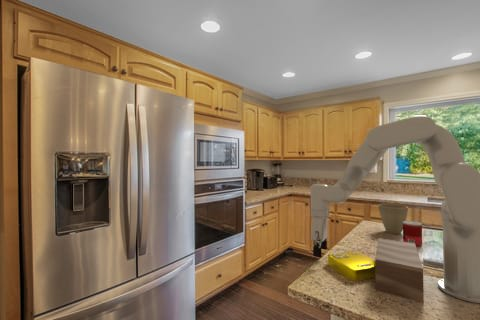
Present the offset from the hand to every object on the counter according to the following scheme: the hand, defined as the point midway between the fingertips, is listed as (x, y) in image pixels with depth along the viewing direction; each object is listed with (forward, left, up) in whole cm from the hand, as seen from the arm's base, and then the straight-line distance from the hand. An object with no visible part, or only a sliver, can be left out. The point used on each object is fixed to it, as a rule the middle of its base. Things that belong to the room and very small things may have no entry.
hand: (320, 252), depth 98 cm
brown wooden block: (0, +27, -4) cm, 27 cm away
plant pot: (-64, +27, -4) cm, 70 cm away
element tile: (0, +13, -4) cm, 14 cm away
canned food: (-46, +35, -4) cm, 58 cm away
